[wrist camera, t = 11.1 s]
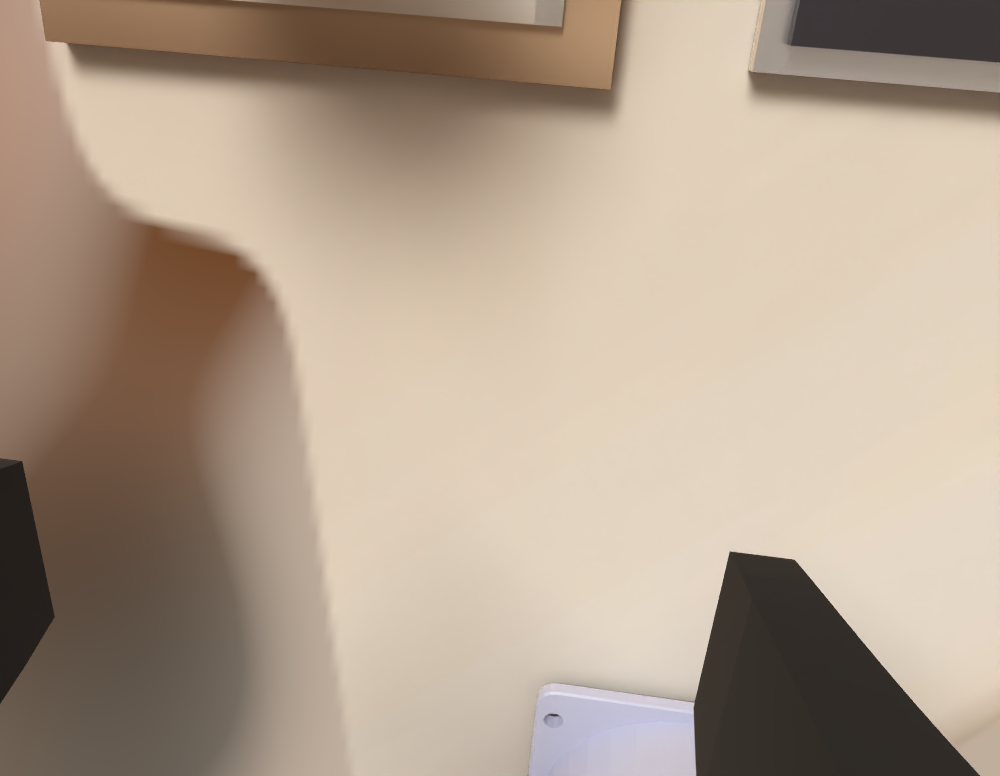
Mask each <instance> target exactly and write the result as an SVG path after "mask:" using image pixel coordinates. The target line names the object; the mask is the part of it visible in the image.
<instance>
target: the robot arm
mask: <svg viewBox="0 0 1000 776" xmlns="http://www.w3.org/2000/svg"><path fill="white" fill-rule="evenodd" d="M53 619H54V612H53V607H52V602H51V597H50V592H49V588H48V583H47V578H46V573H45V569H44V564H43V559H42V554H41V549H40V545H39V540H38V535H37V530H36V526H35V521H34V516H33V511H32V506H31V502H30V497H29V492H28V487H27V483H26V478H25V473H24V468H23V463H22V461H16V460H8V459H0V703H1V702H2V700H3V699H4V697H5V696H6V694H7V692H8V691H9V690H10V688H11V686H12V685H13V683H14V682H15V680H16V679H17V677H18V676H19V674H20V673H21V671H22V670H23V668H24V667H25V665H26V664H27V662H28V660H29V658H30V657H31V655H32V653H33V652H34V650H35V648H36V647H37V645H38V644H39V642H40V640H41V639H42V637H43V635H44V634H45V632H46V630H47V629H48V627H49V625H50V624H51V622H52V620H53ZM548 714H557V715H560V716H554V717H553V716H550V715H548ZM528 776H980V775H978V773H977V772H976V771H975V770H974V769H973V768H972V767H971V765H970V764H969V763H968V762H967V761H966V760H965V759H964V758H963V757H962V756H961V755H960V753H959V752H958V751H957V750H956V749H955V748H954V747H953V746H952V745H951V744H950V743H949V741H948V740H947V739H946V738H945V737H944V736H943V735H942V734H941V732H940V731H939V730H938V729H937V728H936V727H935V726H934V725H933V724H932V722H931V721H930V720H929V719H928V718H927V717H926V716H925V714H924V713H923V712H922V711H921V710H920V709H919V708H918V706H917V705H916V704H915V703H914V702H913V701H912V700H911V698H910V697H909V696H908V695H907V694H906V693H905V692H904V690H903V689H902V688H901V687H900V686H899V685H898V683H897V682H896V681H895V680H894V679H893V677H892V676H891V675H890V674H889V673H888V672H887V670H886V669H885V668H884V667H883V666H882V665H881V663H880V662H879V661H878V660H877V659H876V657H875V656H874V655H873V654H872V653H871V651H870V650H869V649H868V648H867V647H866V645H865V644H864V643H863V642H862V641H861V639H860V638H859V637H858V636H857V635H856V633H855V632H854V631H853V630H852V629H851V627H850V626H849V625H848V624H847V622H846V621H845V620H844V619H843V618H842V616H841V615H840V614H839V613H838V611H837V610H836V609H835V608H834V607H833V605H832V604H831V603H830V602H829V600H828V599H827V598H826V597H825V596H824V594H823V593H822V592H821V591H820V589H819V588H818V587H817V586H816V585H815V583H814V582H813V581H812V580H811V579H810V577H809V576H808V575H807V574H806V573H805V571H804V570H803V569H802V568H801V567H800V566H799V564H798V563H797V562H796V561H795V560H792V559H784V558H777V557H769V556H761V555H753V554H745V553H737V552H730V553H729V557H728V562H727V566H726V570H725V574H724V579H723V583H722V587H721V592H720V596H719V600H718V605H717V609H716V613H715V617H714V622H713V626H712V630H711V635H710V639H709V643H708V648H707V652H706V656H705V660H704V665H703V669H702V673H701V678H700V682H699V686H698V691H697V695H696V699H695V703H693V702H686V701H679V700H672V699H665V698H658V697H651V696H644V695H637V694H630V693H623V692H616V691H609V690H602V689H594V688H587V687H580V686H573V685H566V684H559V683H550V684H547V685H544V686H543V687H542V688H541V689H540V690H539V692H538V695H537V703H536V711H535V720H534V728H533V736H532V745H531V753H530V761H529V770H528Z"/></svg>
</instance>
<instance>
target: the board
mask: <svg viewBox="0 0 1000 776" xmlns="http://www.w3.org/2000/svg"><path fill="white" fill-rule="evenodd" d="M40 7H41V13H42V20H43V26H44V33H45V39H46V41H52V42H64V43H75V44H87V45H98V46H110V47H122V48H133V49H145V50H156V51H168V52H180V53H191V54H203V55H214V56H226V57H238V58H249V59H261V60H272V61H284V62H295V63H307V64H319V65H330V66H342V67H353V68H365V69H377V70H388V71H400V72H411V73H423V74H435V75H446V76H458V77H469V78H481V79H493V80H504V81H516V82H527V83H539V84H551V85H562V86H574V87H585V88H597V89H609V90H611V82H612V73H613V65H614V57H615V48H616V40H617V32H618V23H619V15H620V7H621V0H40Z"/></svg>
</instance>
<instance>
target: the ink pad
mask: <svg viewBox="0 0 1000 776" xmlns="http://www.w3.org/2000/svg"><path fill="white" fill-rule="evenodd" d="M748 70H750V71H752V72H760V73H771V74H783V75H795V76H807V77H819V78H831V79H843V80H855V81H867V82H879V83H891V84H903V85H915V86H927V87H939V88H951V89H963V90H975V91H987V92H999V93H1000V0H761V4H760V9H759V15H758V20H757V25H756V31H755V36H754V41H753V47H752V52H751V58H750V63H749V68H748Z"/></svg>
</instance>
